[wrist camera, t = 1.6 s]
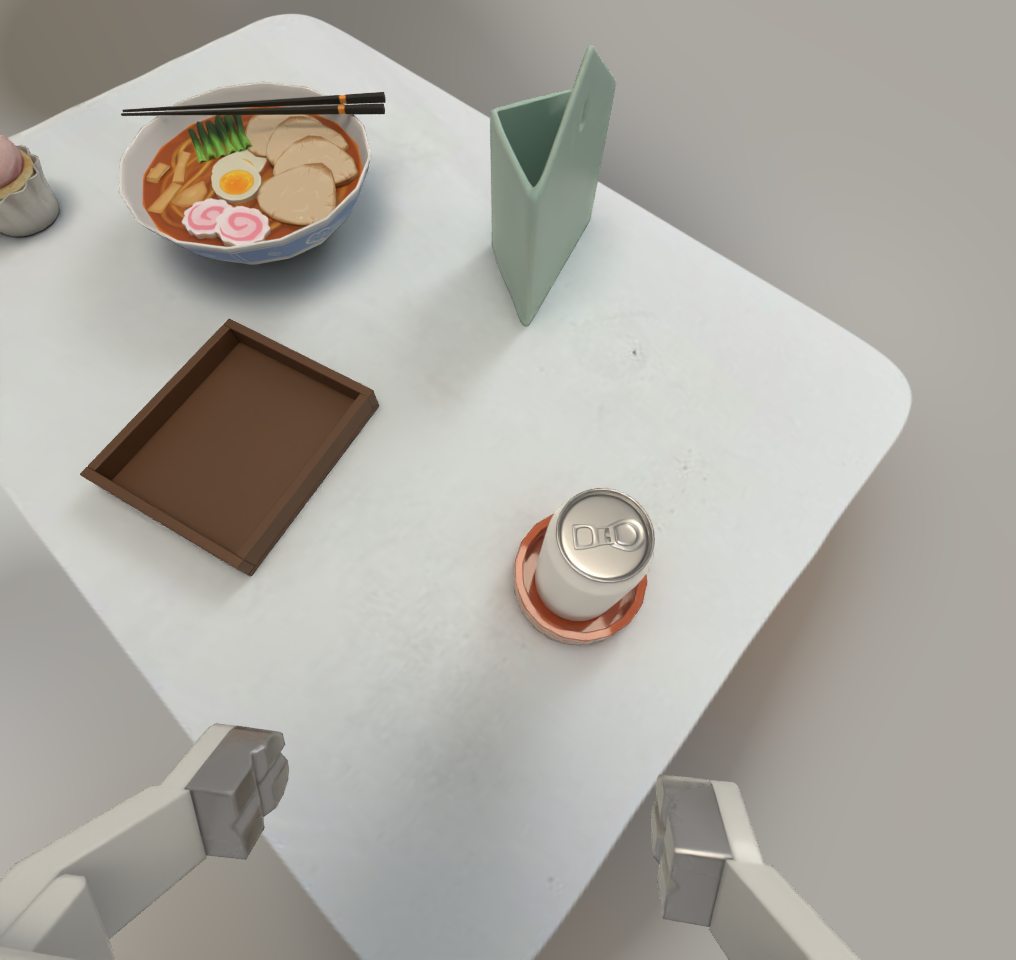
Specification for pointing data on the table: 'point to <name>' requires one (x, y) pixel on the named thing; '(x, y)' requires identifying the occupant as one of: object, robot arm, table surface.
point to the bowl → (551, 622)
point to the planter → (546, 179)
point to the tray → (235, 444)
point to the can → (593, 553)
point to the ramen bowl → (249, 169)
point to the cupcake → (23, 192)
